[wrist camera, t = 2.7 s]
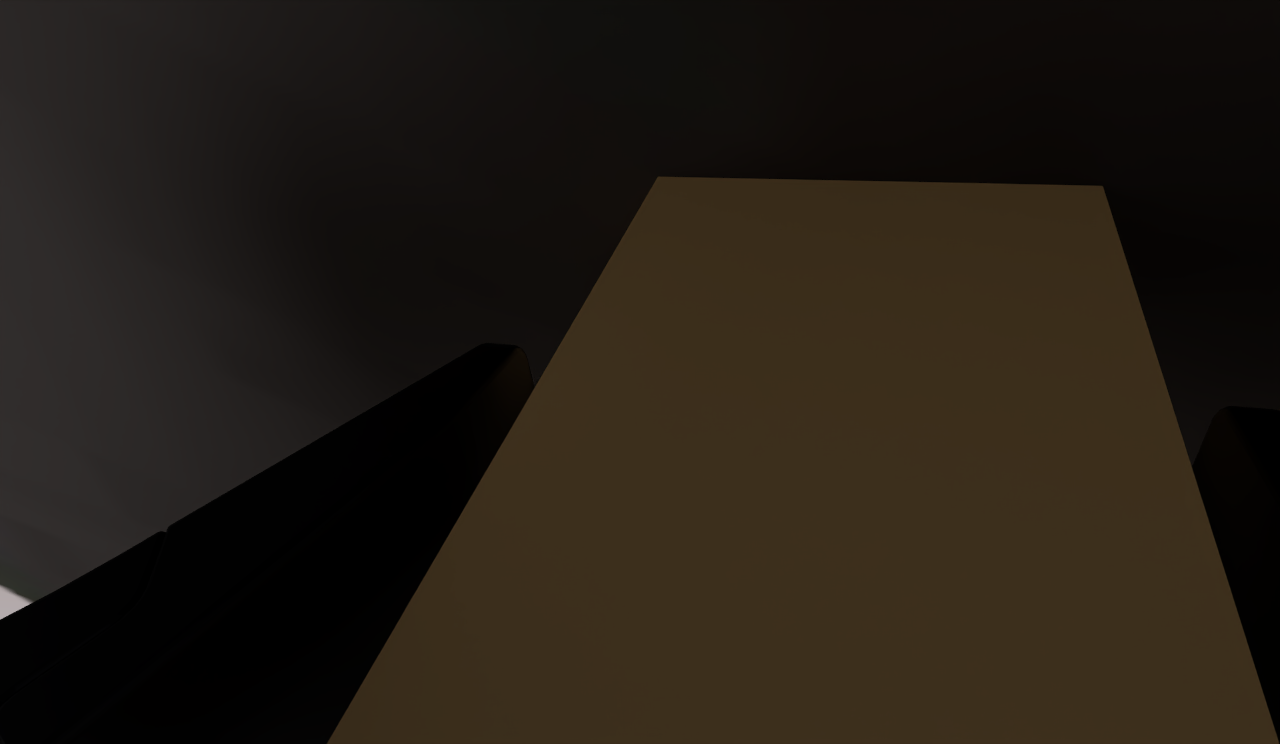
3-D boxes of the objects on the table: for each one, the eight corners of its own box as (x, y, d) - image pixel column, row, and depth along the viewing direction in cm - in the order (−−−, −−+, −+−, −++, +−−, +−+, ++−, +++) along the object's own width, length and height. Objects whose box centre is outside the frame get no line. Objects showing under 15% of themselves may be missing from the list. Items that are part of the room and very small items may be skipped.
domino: (1071, 307, 10) (1260, 1237, 4) (669, 284, 11) (367, 944, 5) (1102, 186, 9) (1414, 1174, 3) (658, 176, 10) (273, 836, 4)
